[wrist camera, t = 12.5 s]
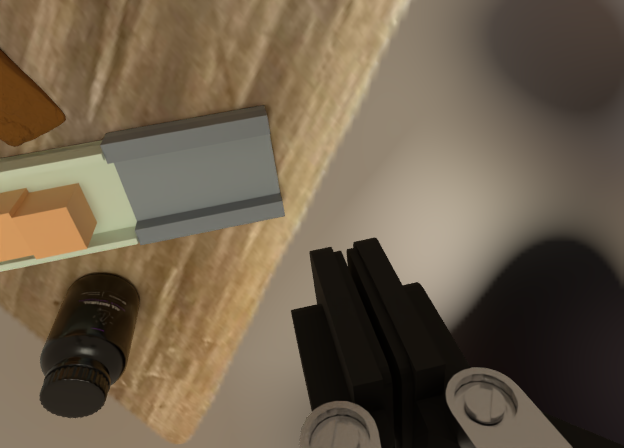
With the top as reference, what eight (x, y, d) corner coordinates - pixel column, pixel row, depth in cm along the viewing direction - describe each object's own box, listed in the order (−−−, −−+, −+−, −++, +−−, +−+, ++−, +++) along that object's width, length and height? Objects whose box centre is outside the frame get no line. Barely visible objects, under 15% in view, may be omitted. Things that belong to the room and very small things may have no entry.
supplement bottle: (124, 263, 44) (100, 360, 34) (150, 313, 48) (134, 413, 38) (52, 280, 43) (6, 384, 34) (84, 329, 47) (51, 435, 37)
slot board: (106, 133, 37) (99, 145, 35) (263, 105, 38) (267, 115, 36) (144, 229, 42) (140, 245, 40) (281, 202, 44) (285, 216, 41)
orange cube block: (-25, 197, 37) (-48, 224, 34) (26, 187, 37) (8, 212, 34) (0, 237, 39) (-19, 265, 36) (48, 227, 39) (33, 255, 36)
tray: (-57, 168, 36) (-76, 186, 34) (115, 137, 37) (109, 152, 35) (-2, 253, 41) (-16, 274, 38) (148, 224, 42) (145, 242, 40)
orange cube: (28, 192, 37) (11, 218, 34) (78, 182, 38) (66, 207, 35) (50, 232, 40) (36, 259, 36) (97, 222, 40) (87, 248, 37)
